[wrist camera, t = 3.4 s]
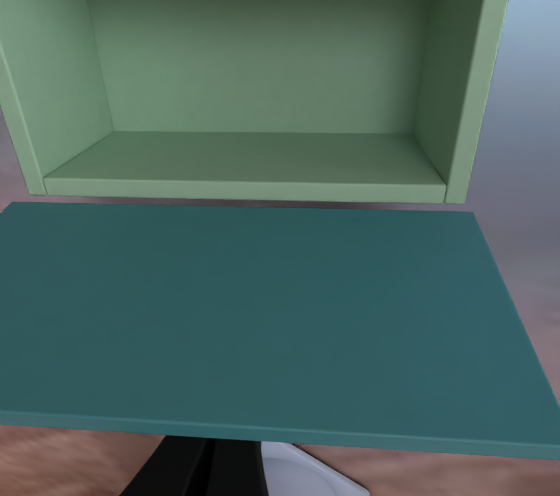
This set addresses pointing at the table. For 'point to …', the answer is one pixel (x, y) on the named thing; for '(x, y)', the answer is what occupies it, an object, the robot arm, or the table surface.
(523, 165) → the table surface
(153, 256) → the lid
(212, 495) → the robot arm
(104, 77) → the box
